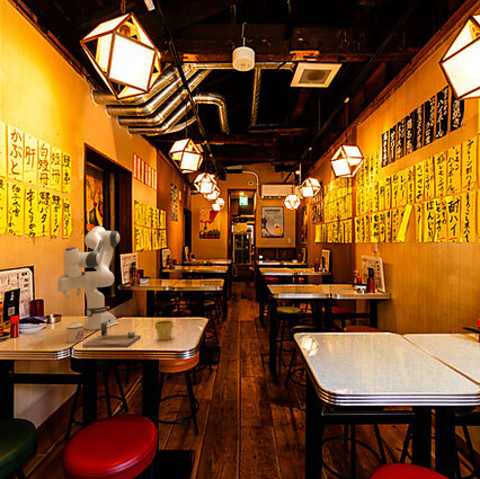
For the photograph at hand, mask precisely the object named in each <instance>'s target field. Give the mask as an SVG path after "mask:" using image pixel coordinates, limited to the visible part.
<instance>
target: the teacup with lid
mask: <svg viewBox="0 0 480 479" xmlns="http://www.w3.org/2000/svg"><path fill="white" fill-rule="evenodd" d="M72 322H73V323H70V324H69V325H67V326H66V330H67V331H66V334H67V335H66V336H67V337H66V338H67V343H68V344H75V343H80V342H83V341H84V324H83V323H80V322H78V321H77V320H75V321H72Z"/></svg>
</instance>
